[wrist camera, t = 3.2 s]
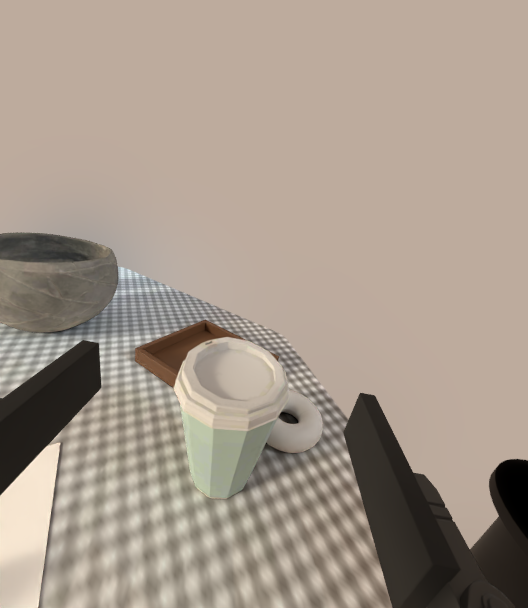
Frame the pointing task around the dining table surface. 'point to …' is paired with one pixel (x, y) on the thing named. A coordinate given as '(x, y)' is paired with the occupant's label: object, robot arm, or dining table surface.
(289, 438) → the donut
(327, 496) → the dining table surface
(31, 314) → the bowl
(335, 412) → the dining table surface
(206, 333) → the tray
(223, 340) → the disposable coffee cup
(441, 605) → the robot arm
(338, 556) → the dining table surface
